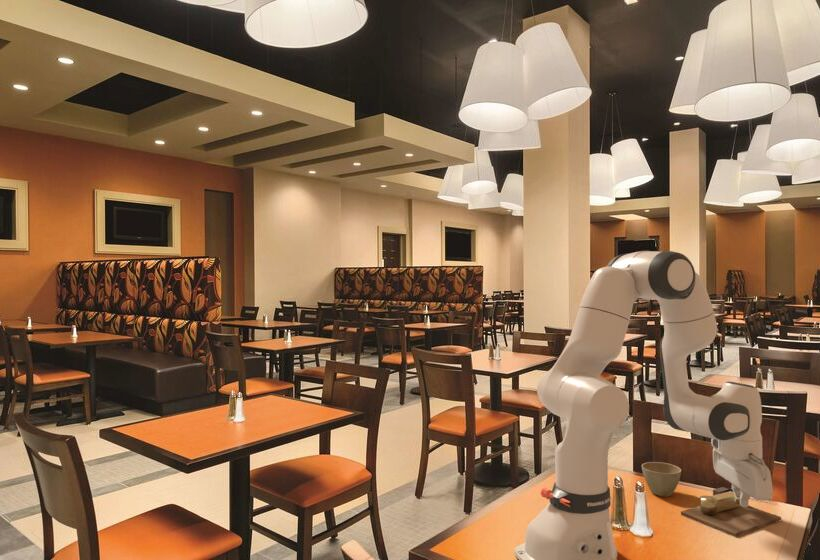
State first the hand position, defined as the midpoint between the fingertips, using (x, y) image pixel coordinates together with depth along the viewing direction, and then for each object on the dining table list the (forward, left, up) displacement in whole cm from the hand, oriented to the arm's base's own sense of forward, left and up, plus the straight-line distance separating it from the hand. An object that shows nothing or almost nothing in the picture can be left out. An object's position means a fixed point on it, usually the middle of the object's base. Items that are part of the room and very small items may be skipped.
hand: (741, 504), depth 135 cm
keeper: (+5, +6, -3) cm, 9 cm away
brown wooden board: (-1, +2, -4) cm, 5 cm away
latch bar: (-1, +5, -2) cm, 6 cm away
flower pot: (-2, +21, -4) cm, 22 cm away
